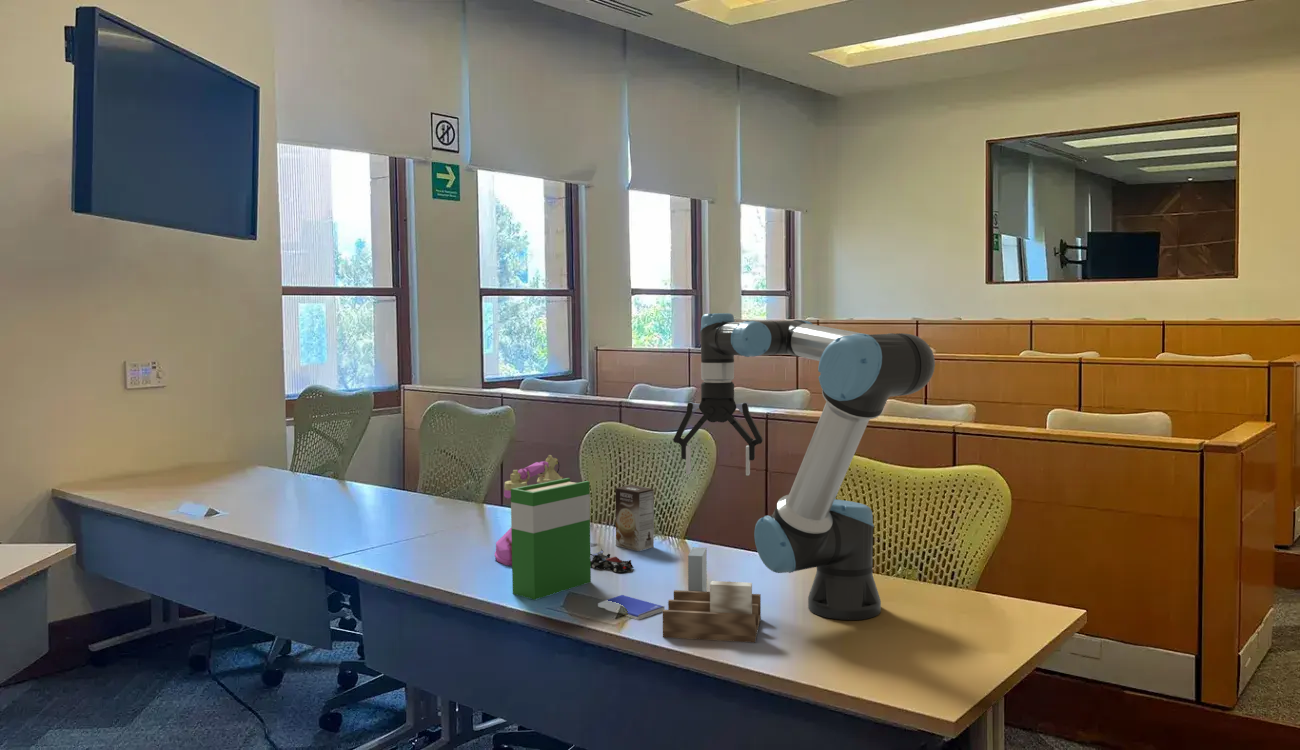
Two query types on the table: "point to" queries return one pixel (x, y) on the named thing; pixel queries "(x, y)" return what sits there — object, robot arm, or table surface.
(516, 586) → the hardback book
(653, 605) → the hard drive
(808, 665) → the table surface
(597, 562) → the toy car
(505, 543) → the telephone
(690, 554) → the grey upright pillar
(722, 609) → the rack
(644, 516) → the coffee box
